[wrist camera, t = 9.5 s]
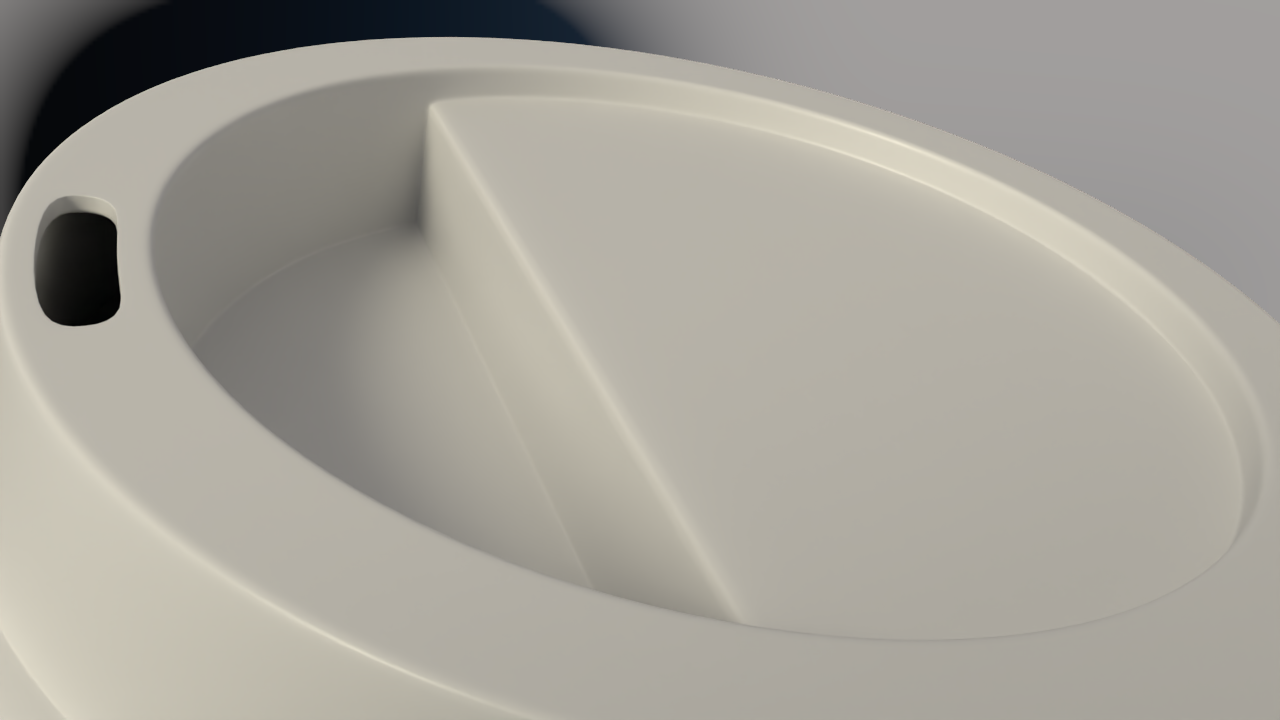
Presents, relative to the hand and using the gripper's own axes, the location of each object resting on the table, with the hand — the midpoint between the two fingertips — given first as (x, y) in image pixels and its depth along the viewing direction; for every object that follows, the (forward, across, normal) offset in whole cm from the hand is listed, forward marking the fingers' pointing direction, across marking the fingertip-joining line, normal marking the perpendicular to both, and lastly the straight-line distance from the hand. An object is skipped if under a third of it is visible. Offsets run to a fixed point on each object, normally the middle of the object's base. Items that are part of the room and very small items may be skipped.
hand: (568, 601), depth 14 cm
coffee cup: (-4, 0, -9) cm, 9 cm away
